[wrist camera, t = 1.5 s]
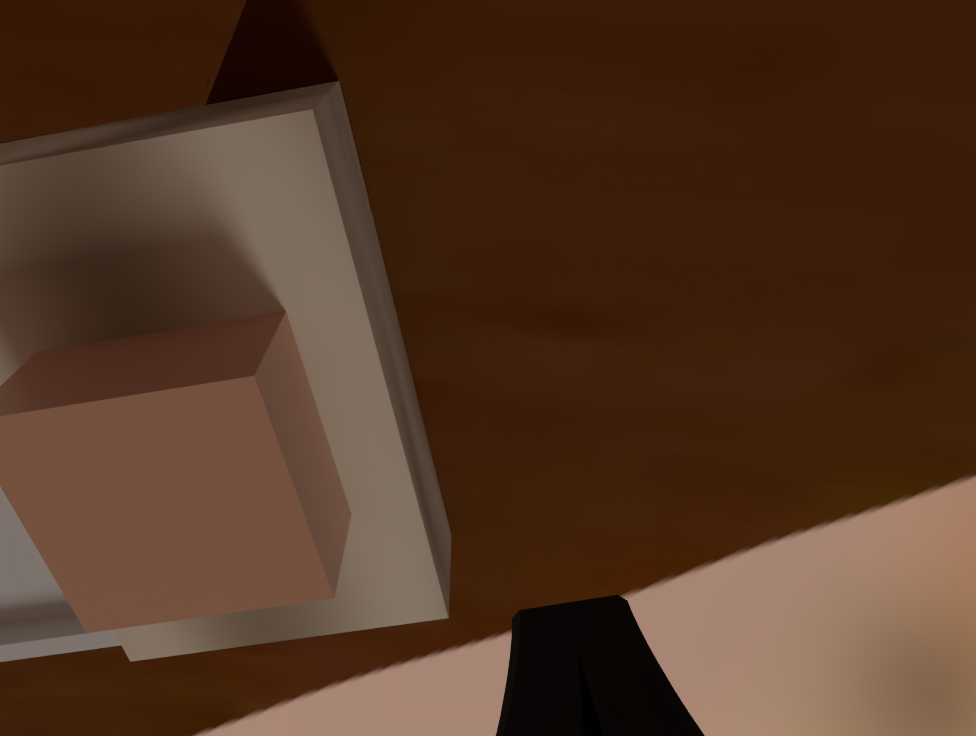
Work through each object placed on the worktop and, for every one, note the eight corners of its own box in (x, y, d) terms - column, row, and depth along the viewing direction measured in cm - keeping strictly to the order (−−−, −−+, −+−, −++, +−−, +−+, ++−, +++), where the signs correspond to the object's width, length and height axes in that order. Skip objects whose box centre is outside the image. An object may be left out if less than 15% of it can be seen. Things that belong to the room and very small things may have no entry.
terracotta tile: (285, 311, 15) (253, 376, 13) (351, 514, 17) (334, 598, 15) (36, 352, 15) (-38, 422, 13) (134, 546, 18) (86, 633, 15)
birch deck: (339, 80, 16) (312, 109, 13) (451, 534, 21) (448, 618, 19) (-38, 149, 16) (-136, 190, 14) (171, 575, 22) (130, 661, 19)
